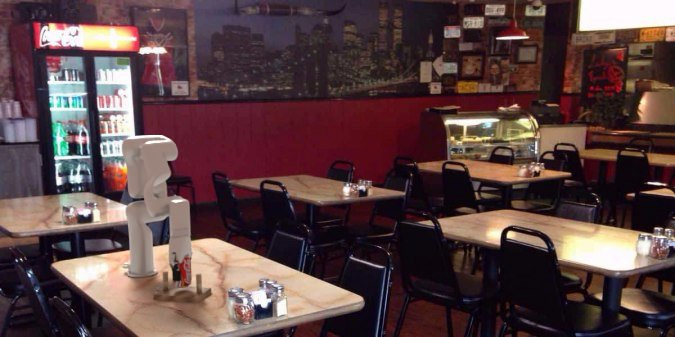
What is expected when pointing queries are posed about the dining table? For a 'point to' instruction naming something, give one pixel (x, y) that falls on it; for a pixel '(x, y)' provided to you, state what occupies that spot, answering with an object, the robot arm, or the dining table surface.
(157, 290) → the ring nut
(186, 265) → the soda can
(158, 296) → the board
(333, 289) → the dining table surface
